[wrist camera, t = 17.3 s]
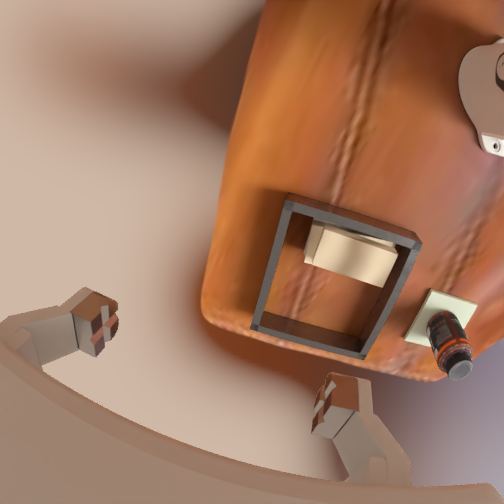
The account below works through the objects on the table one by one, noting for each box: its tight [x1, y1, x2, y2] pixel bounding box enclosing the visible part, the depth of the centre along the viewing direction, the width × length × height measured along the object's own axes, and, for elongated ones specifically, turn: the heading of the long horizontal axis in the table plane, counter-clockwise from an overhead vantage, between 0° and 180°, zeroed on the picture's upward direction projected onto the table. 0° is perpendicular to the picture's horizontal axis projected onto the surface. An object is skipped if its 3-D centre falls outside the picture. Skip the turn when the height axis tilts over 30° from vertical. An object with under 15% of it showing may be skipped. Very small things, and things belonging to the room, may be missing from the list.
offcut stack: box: [303, 217, 398, 288], centre depth 41 cm, size 12×6×6 cm, turn 79°
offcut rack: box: [250, 193, 423, 360], centre depth 44 cm, size 19×21×4 cm
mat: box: [404, 289, 477, 347], centre depth 44 cm, size 10×10×1 cm
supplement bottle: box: [426, 311, 473, 380], centre depth 39 cm, size 6×6×11 cm
